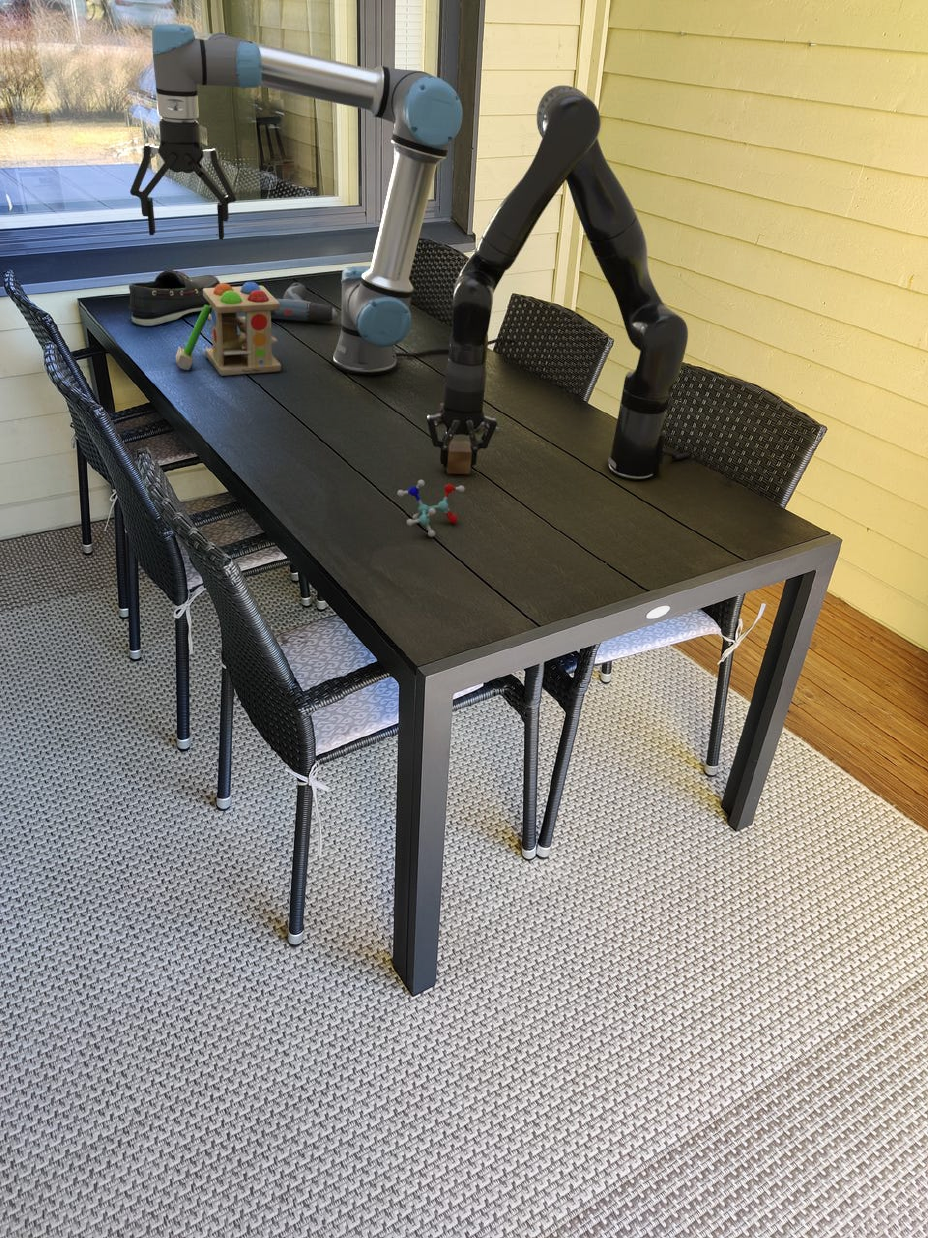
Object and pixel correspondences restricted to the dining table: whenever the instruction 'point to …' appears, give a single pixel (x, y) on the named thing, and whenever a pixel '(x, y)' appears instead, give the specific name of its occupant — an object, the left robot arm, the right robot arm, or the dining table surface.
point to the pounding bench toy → (229, 347)
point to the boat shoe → (168, 297)
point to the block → (459, 457)
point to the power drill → (301, 307)
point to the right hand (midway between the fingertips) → (457, 465)
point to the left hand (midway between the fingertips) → (187, 235)
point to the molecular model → (424, 508)
